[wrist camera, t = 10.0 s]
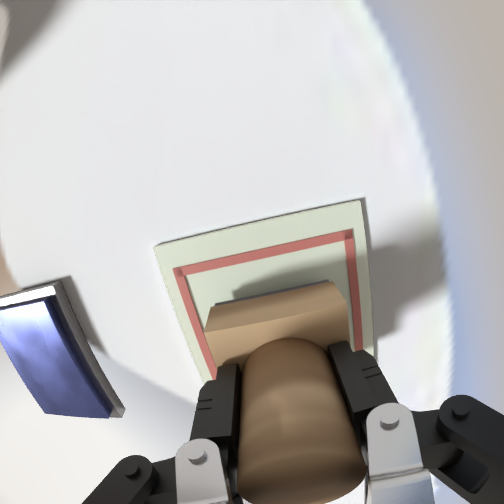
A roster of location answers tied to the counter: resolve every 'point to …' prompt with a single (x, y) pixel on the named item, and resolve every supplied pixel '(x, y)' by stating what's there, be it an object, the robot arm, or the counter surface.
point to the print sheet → (269, 269)
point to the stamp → (289, 394)
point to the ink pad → (55, 354)
